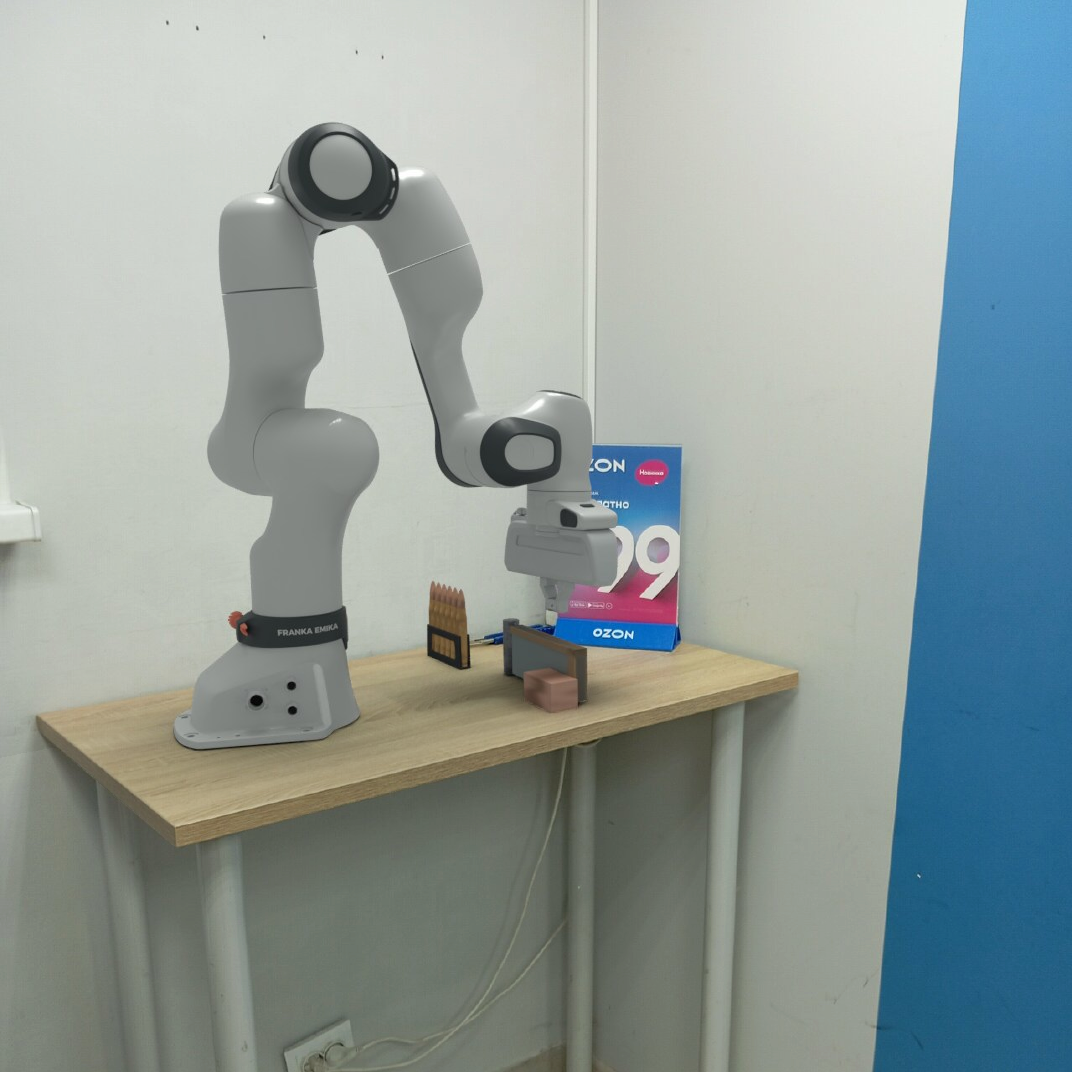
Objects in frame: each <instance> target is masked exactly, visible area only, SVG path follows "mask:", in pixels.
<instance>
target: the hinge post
mask: <svg viewBox="0 0 1072 1072" xmlns="http://www.w3.org/2000/svg"><path fill="white" fill-rule="evenodd" d="M516 625H520V619H519V618H513V617H512V618H504V619H502V639H503V640H502V641H503V643H502V644H503V645H502V647H503V648H502V651H503V652H502V653H503V654H502V655H503V675H504V676H506V677H517V675H515V674H513V673H512V634H511V633H510V626H516Z"/></svg>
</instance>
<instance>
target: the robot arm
mask: <svg viewBox="0 0 1072 1072" xmlns="http://www.w3.org/2000/svg"><path fill="white" fill-rule="evenodd" d="M349 226H355V227H356V228H360V229H361V230H362V231H363V232H364V233H365V234H366V235H367V236H368V237H369V238H370V239H371V240H372V242H373V244H374V245H375V247H376V249H378V251H379V255H380V258H381V261H382V263H383V265H384V269H385V271H386V274H388V275H387V277H388V280H389V282H390V284H391V287H392V290H393V292H394V295H395V298H396V299H397V303H398V305H399V308H400V311H401V314H402V316H403V320H404V323H405V326H406V332H407V334H408V338H409V339H408V340H409V344H410V348H411V350H412V354H413V357H414V360H415V364H416V367H417V371H418V374H419V376H420V381H421V383H422V386H423V389H424V393H425V395H426V399H427V402H428V405H429V409H430V411H431V415H432V419H433V424H434V425H433V426H434V452H435V453H434V454H435V459H436V464H437V465H438V468H439V469H440V471H441V473H442V474H443V475H444V477H445V478H447V480H448V481H450V482H451V483H453V484H455V485H456V486H459V487H461V488H467V489H469V488H472V489H473V488H483V487H485V488H493V489H496V488H498V489H514V488H519V487H521V486H526V508H525V507H517V508H516V510H515V511H514V512H513V513H512V514H511V515H510V523H509V525H508V527H507V531H506V537H505V546H504V547H505V548H504V557H503V558H504V560H503V561H504V565H505V567H506V570H507V571H508V572H512V573H518V574H523V575H527V576H531V577H533V576H534V577H539V586H540V589H541V591H542V594H543V596H544V598H545V600H544V601H545V603H544V604H545V606H544V609H545V610H546V611H548V612H553V613H557V614H565V613H568V612H569V606H570V605H569V603H570V601H569V600H570V599H571V597H572V595H573V593H574V591H575V589H576V585H582V586H585V587H586V586H587V587H590V588H602V587H610V586H613V584H614V582H615V581H616V579H617V577H618V566H619V565H618V563H619V562H618V561H619V559H618V558H619V556H618V554H619V551H618V548H619V547H618V539H617V535H616V533H615V532H614V531H613V530H612V529H615V528H617V525H618V514H617V513H616V512H615V511H614V510H613V509H610V508H609V507H607V506H605V505H604V504H602V503H600V502H599V501H597V500H596V499H595V498H592V489H593V488H592V484H591V481H590V467H591V463H592V462H593V425H592V424H593V423H592V414H591V412H590V411H591V410H590V408H589V405H588V403H587V401H586V400H584V398H582V397H580V396H579V395H577V394H573V393H571V392H570V393H569V392H567V391H561V390H560V391H559V390H558V391H557V390H551V389H548V390H547V389H543V390H537V391H536V392H534V393H533V395H531V397H529V398H528V399H527V400H525V401H524V402H522V403H520V404H518V405H517V406H515V407H513V408H510V409H508V410H506V411H503V412H500V413H499V414H492V415H487V414H486V413H485V412H484V411H483V410H482V409H481V408H480V406H479V405H478V402H477V399H476V397H475V393H474V390H473V386H472V383H471V379H470V376H469V373H468V370H467V366H466V364H465V363H466V362H465V360H464V356H463V348H462V345H463V337H464V334H465V332H466V329H467V326H468V325H469V324H470V322H471V321H472V319H473V318H474V317H475V315H476V314H477V311H478V310H479V307H480V306H481V302H482V299H483V295H484V290H483V282H482V281H483V280H482V275H481V274H482V273H481V271H480V270H481V269H480V267H479V263H478V260H477V256H476V254H475V251H474V248H473V246H472V244H471V241H470V238H469V236H468V235H469V234H468V233H467V230H466V228H465V225H464V223H463V221H462V219H461V216H460V215H459V212H458V210H457V208H456V206H455V204H454V203H453V201H452V199H451V197H450V195H449V193H448V191H447V190H446V188H445V186H444V185H443V183H442V181H441V180H440V178H439V177H438V175H436V174H435V172H433V171H432V170H430V169H428V168H427V167H423V166H418V165H405V166H400V167H398V165H397V163H395V161H393V160H392V159H391V158H390V157H389V156H388V155H387V154H385V153H384V152H383V151H382V150H381V149H380V148H379V147H378V146H377V145H376V144H375V143H374V142H373V141H372V140H371V138H369V136H367V135H366V134H365V133H363V132H362V131H361V130H359V129H358V128H356V127H354V126H352V125H350V124H346V123H343V122H335V121H333V122H331V121H330V122H323V123H319V124H316V125H315V124H314V126H311V127H309V128H308V129H306V130H305V131H304V132H302V133H301V134H300V135H299V137H297V138H296V139H295V140H293V141H292V142H291V143H290V145H288V147H287V148H286V150H285V151H284V153H283V156H282V157H281V160H280V163H279V164H278V166H277V168H276V170H275V172H274V176H273V178H272V181H271V183H270V186H269V188H268V189H267V190H266V191H264V192H253V193H252V192H251V193H247V194H244V195H241V196H239V197H237V198H235V199H233V200H231V201H229V202H228V204H227V205H226V206H225V207H224V208H223V210H222V211H221V215H220V219H219V227H218V230H219V232H218V266H219V267H218V268H219V269H218V271H219V281H220V288H221V289H220V290H221V294H222V295H221V297H222V304H223V312H224V313H223V314H224V321H225V329H226V337H227V339H226V340H227V346H228V359H229V363H228V364H229V365H228V367H229V368H228V372H229V373H228V381H227V389H226V390H227V391H226V395H225V396H226V397H225V402H224V407H223V410H222V413H221V416H220V419H219V420H218V422H217V423H216V424H215V425H214V428H213V429H212V430H211V432H210V435H209V437H208V441H207V444H206V445H207V446H206V455H207V460H208V463H209V467H210V469H211V470H212V472H213V474H214V475H215V477H216V478H217V479H218V480H219V481H220V482H222V483H223V484H225V485H227V486H228V487H231V488H233V489H235V490H237V491H238V490H239V491H240V492H243V493H244V494H248V495H252V496H260V497H272V499H271V500H272V501H271V509H270V513H269V517H268V520H267V521H268V522H267V524H266V527H265V529H264V531H263V533H262V534H261V535H260V536H259V537H258V538H257V539H256V540H255V541H254V542H253V544H252V546H251V548H250V550H249V569H250V570H249V571H250V586H251V587H250V591H251V608H252V609H250V610H248V612H246V613H244V614H243V612H241V611H237V610H235V611H231V613H230V615H228V618H227V620H228V623H229V625H230V627H231V628H233V629H235V634H236V641H237V642H236V643H235V644H234V645H233V646H232V647H231V648H229V649H228V650H227V651H225V653H223V654H222V655H221V656H220V657H218V659H216V660H215V661H214V662H213V663H211V664H210V665H209V666H208V667H207V668H205V669H204V670H203V671H202V672H201V673H200V674H199V676H198V677H197V678H196V682H195V685H194V689H193V692H192V698H191V699H192V700H191V708H190V709H188V710H185V711H183V712H181V713H180V714H179V715H177V717H176V718H175V720H174V722H173V734H174V737H175V739H176V740H177V741H178V743H180V744H181V745H183V746H184V747H185V746H186V747H188V748H190V749H196V750H205V749H218V748H230V747H240V746H241V747H242V746H243V747H244V746H254V745H265V744H277V743H278V744H279V743H289V742H301V741H303V742H304V741H313V740H315V741H316V740H321V739H324V738H326V737H328V736H330V735H331V734H332V733H333V732H334V731H336V730H337V729H340V728H343V727H345V726H348V725H350V724H351V723H353V722H355V721H356V720H357V719H358V718H359V717H360V715H361V710H360V708H359V706H358V703H357V700H356V697H355V696H356V695H355V693H354V689H353V683H352V680H351V679H352V678H351V676H350V669H349V664H348V657H347V650H348V647H349V646H348V642H349V619H348V614H347V607H346V606H345V605H343V572H342V571H343V569H342V568H343V563H342V561H343V557H342V556H343V544H344V538H345V537H344V536H345V531H346V527H347V526H348V525H347V524H348V521H349V517H350V516H351V512H352V510H353V508H354V505H355V503H356V501H357V500H358V498H360V496H361V494H362V493H364V491H366V489H368V487H369V486H370V485H372V483H373V481H374V479H375V477H376V475H377V472H378V470H379V469H378V468H379V465H380V447H379V442H378V439H377V437H376V434H375V432H374V431H373V429H372V427H370V425H369V424H368V423H367V422H366V421H364V420H363V419H362V418H360V417H357V416H355V415H352V414H350V413H346V412H343V411H339V410H335V409H332V408H325V407H322V408H321V407H320V408H319V407H318V408H317V407H315V408H314V407H313V408H312V407H311V408H309V407H308V408H306V405H305V404H306V392H307V387H308V382H309V380H310V377H311V374H312V372H313V370H314V369H315V368H316V367H317V366H318V365H319V364H320V362H321V360H322V359H323V357H324V354H325V353H324V352H325V342H324V335H323V334H324V333H323V325H322V318H321V317H322V316H321V310H320V309H321V308H320V302H319V301H320V300H319V299H320V298H319V292H318V291H319V290H318V284H317V277H316V271H315V262H314V258H315V246H316V243H317V239H318V238H319V236H322V235H325V234H328V233H331V232H333V231H334V232H335V230H338V229H342V228H345V227H349ZM557 589H559V590H558V592H557Z"/></svg>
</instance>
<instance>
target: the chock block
mask: <svg viewBox="0 0 1072 1072" xmlns="http://www.w3.org/2000/svg"><path fill="white" fill-rule="evenodd" d="M523 701H526V702H527V703H529V704H531V705H532V706H533V705H534V706H535V707H538V708H539V709H541V710H544V711H546V712H547V713H550V714H556V713H559V712H565V711H570V710H575V709H576V710H577V709H578V708H579V707H578V706H579V705H578V703H579V702H578V679H575V678H573V677H570V676H568V675H566V674H563V673H561V672H558V671H556V670H554V669H551V668H545V669H539V670H533V671H527V672H524V678H523Z"/></svg>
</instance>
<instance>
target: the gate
mask: <svg viewBox="0 0 1072 1072" xmlns="http://www.w3.org/2000/svg"><path fill="white" fill-rule="evenodd" d="M510 633H511V634H512V673H513V674H515V675H516V677H519V678H522V679H524V672H527V671H533V670H539V669H545V668H551V669H554V670H556V671H558V672H561V673H563V674H566V675H568V676H570V677H573V678H575V679H578V703H582V702H584V701H588V647H585V646H582V645H579V644H577V643H574V642H572V641H568V640H566V639H563V638H560V637H557V636H555V635H553V634H550V633H546V632H544V631H541V630H538V629H536V628H533V627H530V626H527V625H524V624H519V625H516V626H510Z"/></svg>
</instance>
